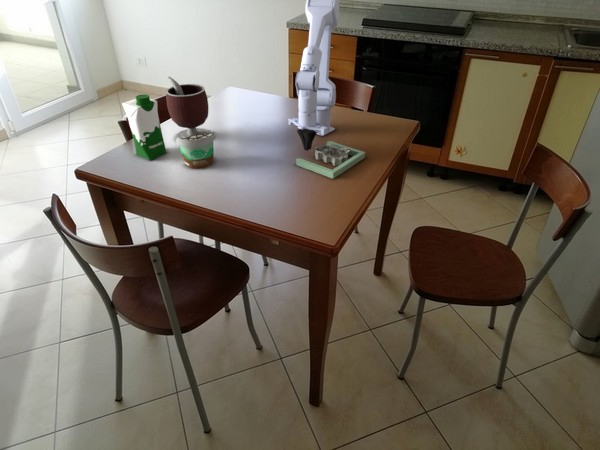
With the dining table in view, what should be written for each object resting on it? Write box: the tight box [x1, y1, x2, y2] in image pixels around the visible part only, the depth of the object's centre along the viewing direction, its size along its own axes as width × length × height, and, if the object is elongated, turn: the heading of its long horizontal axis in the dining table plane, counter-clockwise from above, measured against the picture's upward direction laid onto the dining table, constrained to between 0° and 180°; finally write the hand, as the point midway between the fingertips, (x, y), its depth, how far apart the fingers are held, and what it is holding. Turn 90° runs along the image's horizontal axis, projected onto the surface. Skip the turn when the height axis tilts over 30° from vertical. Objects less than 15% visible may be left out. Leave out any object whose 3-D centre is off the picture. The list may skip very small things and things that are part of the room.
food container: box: [175, 129, 216, 170], centre depth 133 cm, size 12×6×10 cm, turn 117°
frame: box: [295, 140, 366, 180], centre depth 137 cm, size 14×18×2 cm
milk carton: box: [121, 94, 167, 161], centre depth 137 cm, size 9×9×20 cm
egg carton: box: [313, 143, 350, 167], centre depth 137 cm, size 11×8×4 cm
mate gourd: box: [165, 76, 211, 140], centre depth 149 cm, size 16×14×20 cm
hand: (307, 149), depth 141 cm, fingers closed
